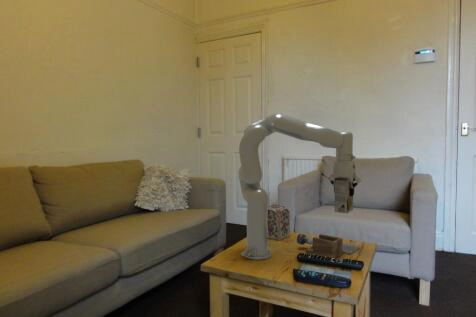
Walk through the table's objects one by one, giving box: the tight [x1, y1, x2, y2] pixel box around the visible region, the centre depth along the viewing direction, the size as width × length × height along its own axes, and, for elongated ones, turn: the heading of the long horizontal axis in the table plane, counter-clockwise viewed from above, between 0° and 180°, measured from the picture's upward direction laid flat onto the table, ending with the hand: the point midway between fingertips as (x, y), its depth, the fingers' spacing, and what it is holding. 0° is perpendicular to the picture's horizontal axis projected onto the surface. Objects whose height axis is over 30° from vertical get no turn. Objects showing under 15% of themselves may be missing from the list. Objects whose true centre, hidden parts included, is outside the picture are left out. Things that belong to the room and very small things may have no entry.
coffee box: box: [333, 178, 354, 214], centre depth 166 cm, size 9×6×16 cm
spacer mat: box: [343, 243, 361, 255], centre depth 168 cm, size 12×12×1 cm
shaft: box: [296, 233, 314, 246], centre depth 165 cm, size 5×14×5 cm, turn 50°
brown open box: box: [305, 233, 344, 259], centre depth 161 cm, size 10×14×8 cm
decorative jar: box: [268, 202, 291, 241], centre depth 189 cm, size 12×12×18 cm
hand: (343, 195), depth 166 cm, fingers closed on coffee box, 6 cm apart
